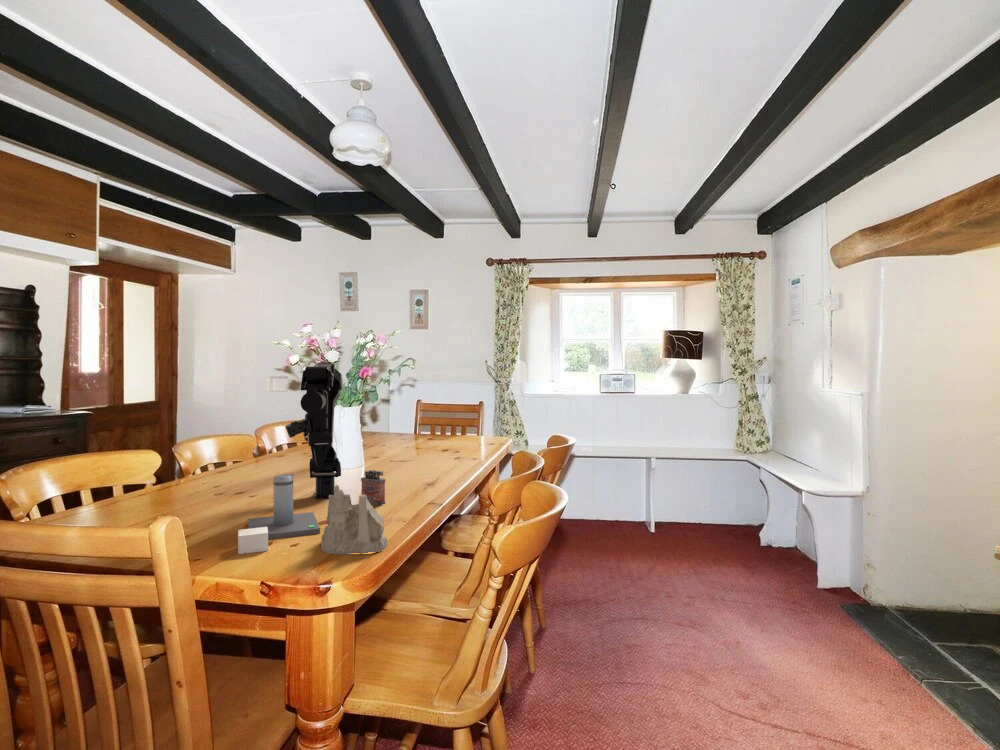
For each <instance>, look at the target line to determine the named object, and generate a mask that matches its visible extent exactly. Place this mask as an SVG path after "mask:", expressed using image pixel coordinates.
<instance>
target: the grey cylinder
mask: <svg viewBox="0 0 1000 750" xmlns="http://www.w3.org/2000/svg"><path fill="white" fill-rule="evenodd" d="M293 514H294V475H293V474H291V473H290V474H289V473H287V474H278V475H274V476H273V516H274V517H273V524H274V525H275V526H286V525H290V524H292V523H293Z"/></svg>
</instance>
